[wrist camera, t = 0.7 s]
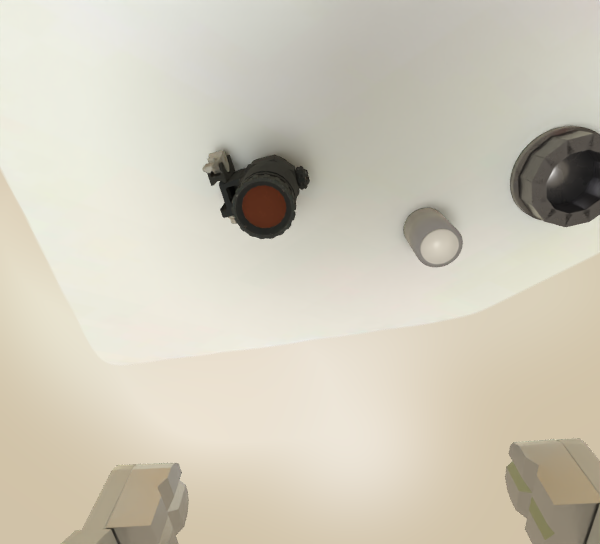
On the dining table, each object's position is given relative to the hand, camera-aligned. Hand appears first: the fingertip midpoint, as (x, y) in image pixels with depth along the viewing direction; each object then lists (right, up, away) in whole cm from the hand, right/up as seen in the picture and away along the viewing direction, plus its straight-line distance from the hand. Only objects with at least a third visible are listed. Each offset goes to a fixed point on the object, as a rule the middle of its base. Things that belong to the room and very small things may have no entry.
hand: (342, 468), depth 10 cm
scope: (-5, +16, +37) cm, 40 cm away
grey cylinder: (+14, +10, +39) cm, 43 cm away
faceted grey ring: (+28, +16, +36) cm, 48 cm away
